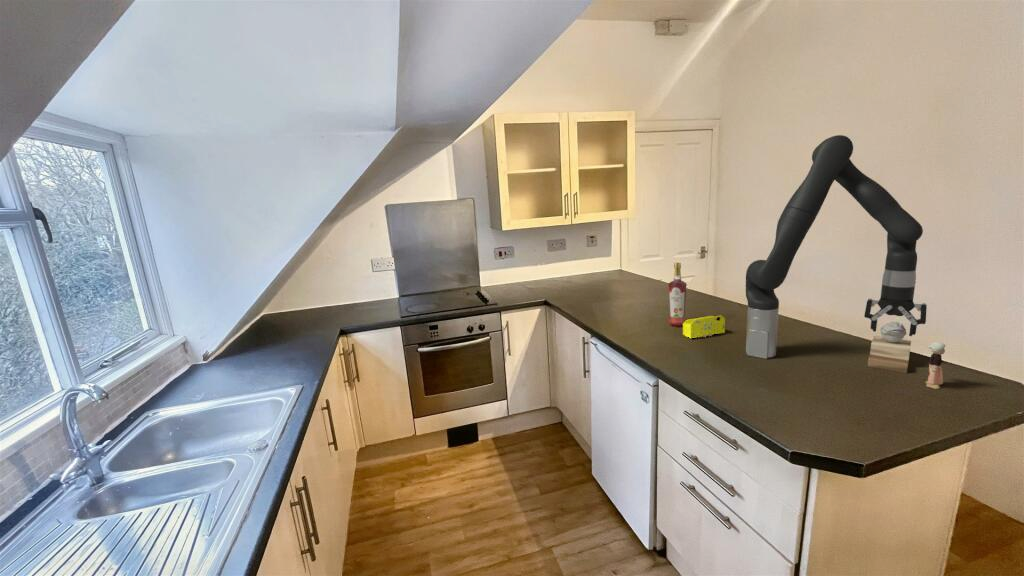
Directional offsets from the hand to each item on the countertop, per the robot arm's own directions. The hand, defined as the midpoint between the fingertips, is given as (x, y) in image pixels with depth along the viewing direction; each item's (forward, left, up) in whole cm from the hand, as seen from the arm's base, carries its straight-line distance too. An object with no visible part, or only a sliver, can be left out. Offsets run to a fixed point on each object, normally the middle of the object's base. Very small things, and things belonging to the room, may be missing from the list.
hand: (892, 333), depth 131 cm
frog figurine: (0, 0, -3) cm, 3 cm away
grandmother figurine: (-15, -10, -9) cm, 20 cm away
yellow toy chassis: (-6, +56, -9) cm, 57 cm away
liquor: (+1, +70, -9) cm, 71 cm away
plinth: (-3, 0, -9) cm, 9 cm away
